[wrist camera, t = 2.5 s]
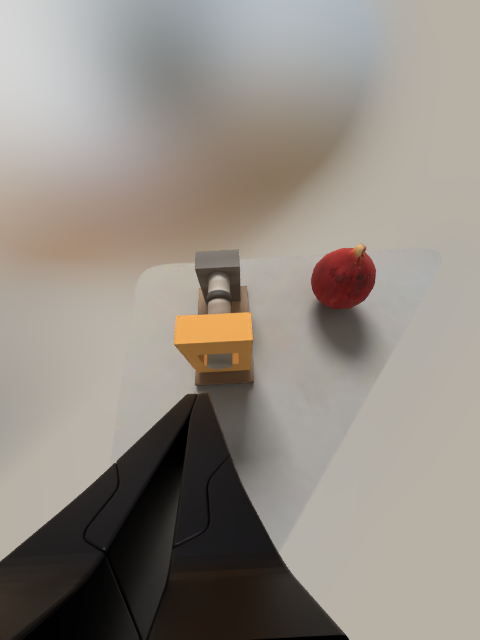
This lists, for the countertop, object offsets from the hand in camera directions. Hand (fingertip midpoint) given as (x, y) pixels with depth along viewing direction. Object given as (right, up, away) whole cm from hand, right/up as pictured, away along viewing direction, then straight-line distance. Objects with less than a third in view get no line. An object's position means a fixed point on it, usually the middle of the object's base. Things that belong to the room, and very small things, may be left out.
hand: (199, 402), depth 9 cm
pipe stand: (0, +2, +15) cm, 16 cm away
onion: (+12, +6, +17) cm, 22 cm away
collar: (0, -1, +13) cm, 13 cm away
